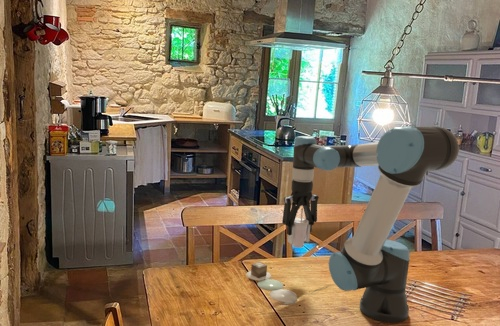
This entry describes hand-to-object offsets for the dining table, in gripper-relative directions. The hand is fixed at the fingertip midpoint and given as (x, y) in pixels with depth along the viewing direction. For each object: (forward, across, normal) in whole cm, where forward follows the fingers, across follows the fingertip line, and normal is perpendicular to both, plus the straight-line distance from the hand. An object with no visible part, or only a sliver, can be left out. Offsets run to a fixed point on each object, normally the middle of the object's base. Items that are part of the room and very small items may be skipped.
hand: (298, 242), depth 167 cm
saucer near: (+14, +13, +12) cm, 23 cm away
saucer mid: (+14, +13, +3) cm, 19 cm away
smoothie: (+2, 0, 0) cm, 2 cm away
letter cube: (+13, +13, -5) cm, 19 cm away
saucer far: (+14, +13, -5) cm, 20 cm away
